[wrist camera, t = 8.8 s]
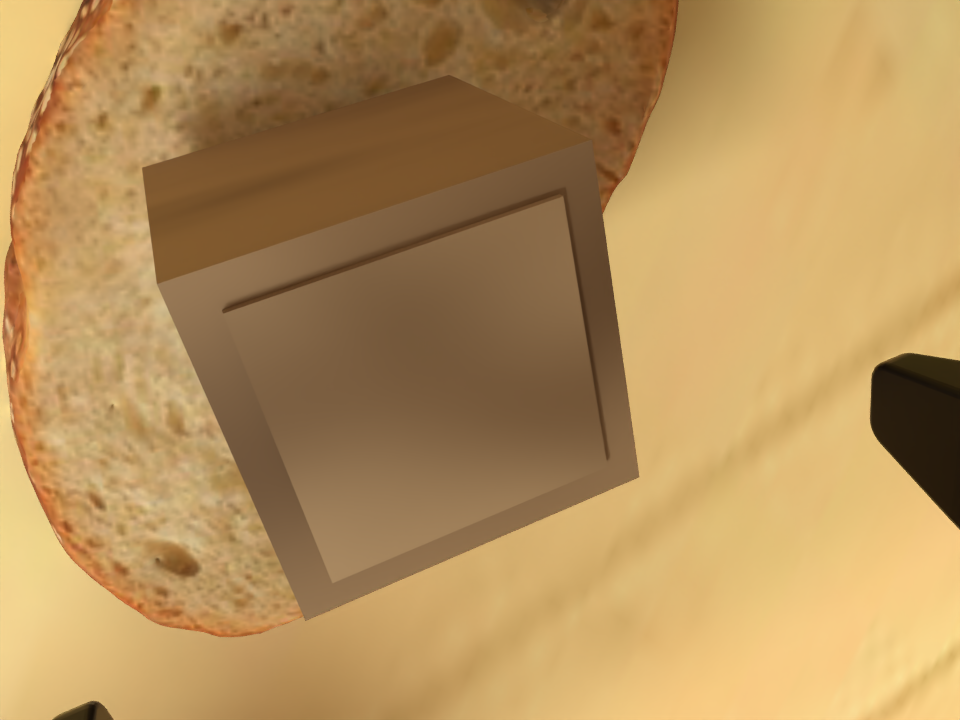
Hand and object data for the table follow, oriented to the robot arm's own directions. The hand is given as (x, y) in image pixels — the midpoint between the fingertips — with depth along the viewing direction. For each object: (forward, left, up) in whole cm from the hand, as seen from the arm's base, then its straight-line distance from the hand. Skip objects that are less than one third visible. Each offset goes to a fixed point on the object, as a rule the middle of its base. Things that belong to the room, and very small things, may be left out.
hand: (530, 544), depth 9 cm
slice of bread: (-1, -1, -13) cm, 13 cm away
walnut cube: (0, 0, -10) cm, 10 cm away
